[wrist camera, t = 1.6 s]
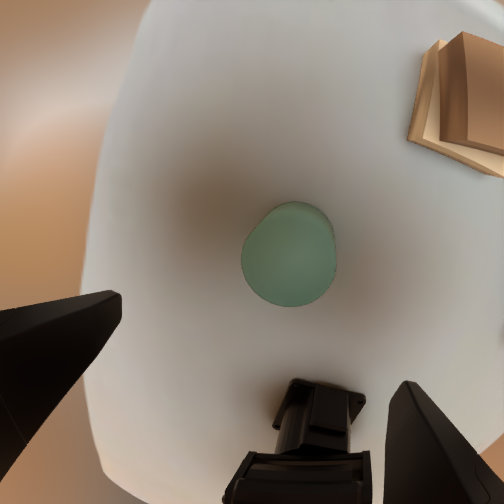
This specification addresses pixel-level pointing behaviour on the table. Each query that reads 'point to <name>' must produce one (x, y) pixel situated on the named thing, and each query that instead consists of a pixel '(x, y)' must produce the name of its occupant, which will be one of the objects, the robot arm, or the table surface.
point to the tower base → (428, 121)
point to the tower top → (472, 93)
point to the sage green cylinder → (290, 255)
